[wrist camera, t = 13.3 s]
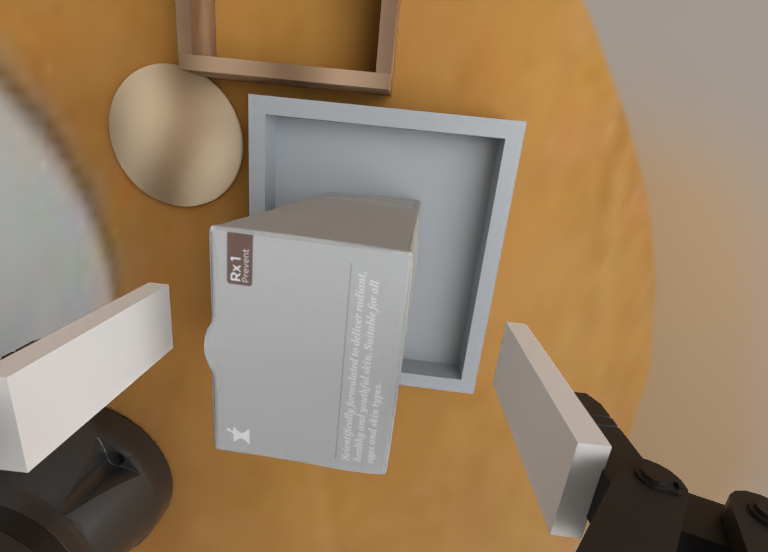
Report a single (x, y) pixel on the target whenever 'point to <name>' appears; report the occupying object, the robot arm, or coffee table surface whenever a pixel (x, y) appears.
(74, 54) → the coffee table surface
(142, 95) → the curved potato chip
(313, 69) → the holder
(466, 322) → the tray
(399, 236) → the skincare box
